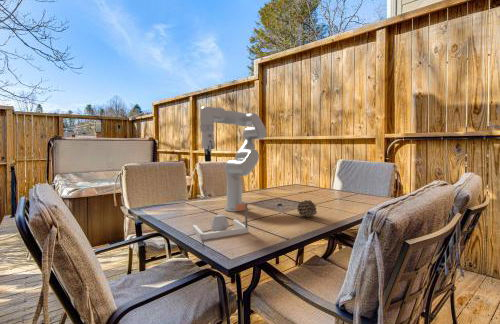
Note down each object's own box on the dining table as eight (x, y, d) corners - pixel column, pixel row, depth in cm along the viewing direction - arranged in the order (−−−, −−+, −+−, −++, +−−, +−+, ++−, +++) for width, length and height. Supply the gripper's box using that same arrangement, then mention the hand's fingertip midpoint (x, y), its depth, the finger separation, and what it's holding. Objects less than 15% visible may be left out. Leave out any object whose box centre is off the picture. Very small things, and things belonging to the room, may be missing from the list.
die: (233, 233, 135) (230, 213, 140) (224, 228, 127) (221, 208, 132) (217, 238, 137) (215, 219, 142) (208, 234, 129) (206, 214, 134)
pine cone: (322, 219, 155) (322, 201, 155) (308, 221, 151) (308, 203, 150) (298, 210, 175) (298, 194, 174) (285, 212, 171) (285, 196, 170)
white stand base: (235, 224, 147) (235, 197, 146) (248, 232, 133) (248, 203, 132) (192, 230, 137) (191, 202, 136) (201, 240, 123) (200, 208, 122)
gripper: (217, 128, 153) (218, 162, 154) (209, 129, 166) (210, 160, 167) (204, 128, 149) (205, 162, 151) (197, 129, 163) (197, 160, 164)
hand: (207, 161), depth 159 cm, fingers closed
